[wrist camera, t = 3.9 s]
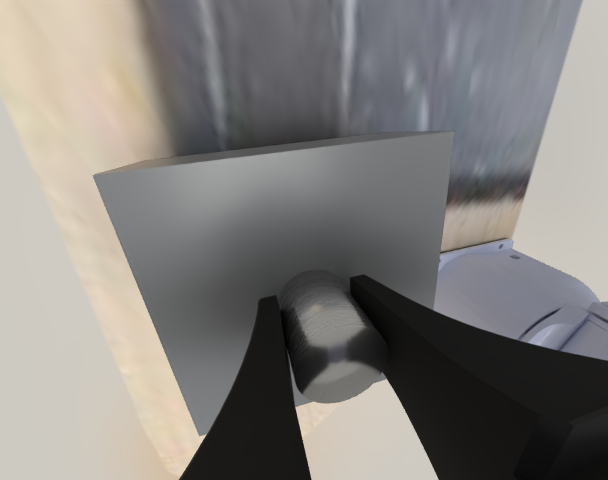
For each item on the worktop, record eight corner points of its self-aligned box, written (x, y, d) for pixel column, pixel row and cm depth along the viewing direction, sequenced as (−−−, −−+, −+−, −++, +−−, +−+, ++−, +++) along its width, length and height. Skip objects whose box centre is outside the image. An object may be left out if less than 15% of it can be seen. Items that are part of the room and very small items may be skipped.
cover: (386, 132, 14) (559, 128, 7) (382, 312, 19) (479, 430, 11) (144, 160, 12) (-9, 203, 4) (208, 357, 17) (186, 539, 9)
